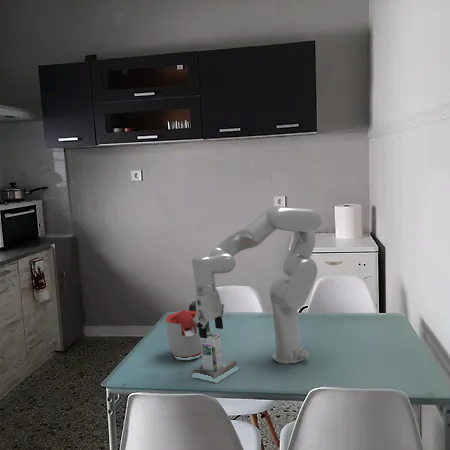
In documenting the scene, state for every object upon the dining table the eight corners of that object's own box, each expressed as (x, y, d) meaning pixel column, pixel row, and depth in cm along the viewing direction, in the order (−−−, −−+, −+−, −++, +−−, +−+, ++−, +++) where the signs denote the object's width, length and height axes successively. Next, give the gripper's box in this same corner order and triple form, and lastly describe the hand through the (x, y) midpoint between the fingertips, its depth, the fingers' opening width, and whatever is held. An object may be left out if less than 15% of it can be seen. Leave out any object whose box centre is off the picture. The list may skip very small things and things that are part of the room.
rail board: (239, 369, 195) (238, 361, 195) (217, 383, 184) (216, 375, 184) (214, 363, 202) (213, 356, 202) (191, 377, 191) (190, 369, 191)
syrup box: (202, 373, 191) (199, 336, 189) (210, 367, 196) (207, 331, 194) (216, 375, 188) (212, 338, 186) (223, 369, 193) (220, 332, 191)
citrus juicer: (173, 368, 201) (168, 319, 198) (166, 352, 218) (162, 307, 215) (212, 360, 205) (207, 312, 202) (202, 346, 222) (198, 301, 219)
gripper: (199, 296, 178) (205, 343, 181) (227, 282, 192) (233, 326, 195) (182, 294, 183) (189, 340, 185) (212, 281, 197) (217, 324, 199)
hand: (211, 333), depth 190 cm, fingers open, 9 cm apart
